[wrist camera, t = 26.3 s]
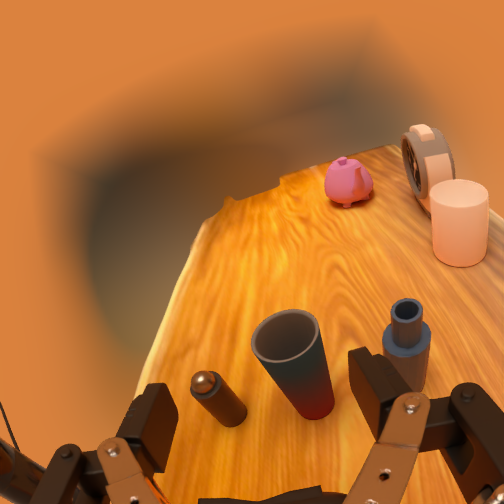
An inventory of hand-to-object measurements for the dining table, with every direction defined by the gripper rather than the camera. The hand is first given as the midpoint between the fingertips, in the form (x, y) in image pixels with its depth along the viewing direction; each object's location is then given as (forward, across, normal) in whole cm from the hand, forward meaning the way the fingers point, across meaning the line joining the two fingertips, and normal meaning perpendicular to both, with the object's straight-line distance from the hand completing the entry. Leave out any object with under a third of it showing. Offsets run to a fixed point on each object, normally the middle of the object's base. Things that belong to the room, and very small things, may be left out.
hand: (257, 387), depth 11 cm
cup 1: (+19, -5, +20) cm, 28 cm away
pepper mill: (+22, +7, +21) cm, 31 cm away
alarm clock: (+51, -45, +3) cm, 68 cm away
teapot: (+70, -30, 0) cm, 76 cm away
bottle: (+17, -16, +19) cm, 30 cm away
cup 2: (+34, -39, +9) cm, 53 cm away
